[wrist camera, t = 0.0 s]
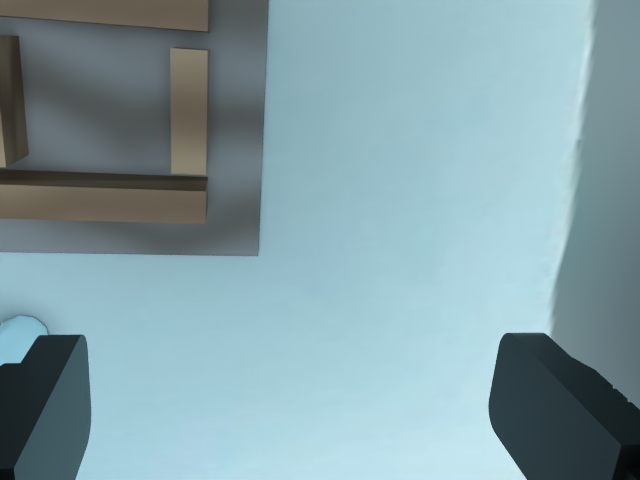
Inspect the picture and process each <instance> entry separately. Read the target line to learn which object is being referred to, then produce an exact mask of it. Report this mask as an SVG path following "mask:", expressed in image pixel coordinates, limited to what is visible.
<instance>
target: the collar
mask: <svg viewBox="0 0 640 480" xmlns="http://www.w3.org/2000/svg"><path fill="white" fill-rule="evenodd" d="M268 1H269V0H0V252H26V253H88V254H150V255H212V256H258V248H259V223H260V199H261V174H262V149H263V125H264V100H265V75H266V51H267V26H268Z"/></svg>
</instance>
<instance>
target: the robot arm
mask: <svg viewBox="0 0 640 480" xmlns="http://www.w3.org/2000/svg"><path fill="white" fill-rule="evenodd" d="M489 417H490V421H491V425H492V428H493V430H494V432H495V433H496V435H497V436H498V438H499V439H500V441H501V442H502V444H503V445H504V447H505V448H506V450H507V451H508V453H509V454H510V455H511V457H512V458H513V460H514V461H515V463H516V464H517V466H518V467H519V469H520V470H521V472H522V473H523V474H524V476H525V477H526V479H527V480H640V410H639V409H638V408H637V407H636V406H635V405H634V404H633V403H631V402H628V401H627V398H626V397H625V396H623V394H621V393H620V392H619V391H618V390H617V389H613V386H612V385H611V384H610V383H609V382H608V381H607V380H606V379H605V378H603V377H602V376H601V375H600V374H599V373H598V372H597V371H596V370H594V369H592V368H591V367H588V366H587V365H585V364H583V363H581V362H580V361H578V360H576V359H574V358H572V357H571V356H569V355H568V354H567V353H566V352H565V351H564V350H563V349H562V348H561V347H560V346H559V345H557V344H556V343H555V342H554V341H553V340H552V339H551V338H550V337H549V336H548V335H546V334H544V333H506V334H505V335H504V336H503V337H502V339H501V341H500V344H499V349H498V354H497V360H496V365H495V370H494V376H493V381H492V387H491V392H490V397H489ZM90 426H91V399H90V382H89V366H88V349H87V342H86V338H85V336H84V335H39V336H38V337H37V338H36V340H35V341H34V343H33V344H32V346H31V347H30V349H29V350H28V352H27V353H26V355H25V357H24V358H23V360H22V361H21V363H4V364H2V365H1V366H0V480H75V479H76V476H77V473H78V470H79V467H80V464H81V461H82V459H83V456H84V453H85V450H86V447H87V444H88V439H89V434H90Z"/></svg>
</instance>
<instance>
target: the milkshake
mask: <svg viewBox="0 0 640 480" xmlns="http://www.w3.org/2000/svg"><path fill="white" fill-rule="evenodd" d="M39 335H48V332H47V328H46V327H45V326H44V325H43V324H42V323H41V322H40V321H38V320H37V319H36V318H34V317H28V316H23V315H19V316H16V317H14V318H11V319H8V320H6V321H5V322H3V323H2V324H1V325H0V366H1V365H2V364H4V363H21V361H22V360H23V358H24V357H25V355H26V353H27V352H28V350H29V349H30V347H31V346H32V344H33V343H34V341H35V340H36V338H37V337H38V336H39Z"/></svg>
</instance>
